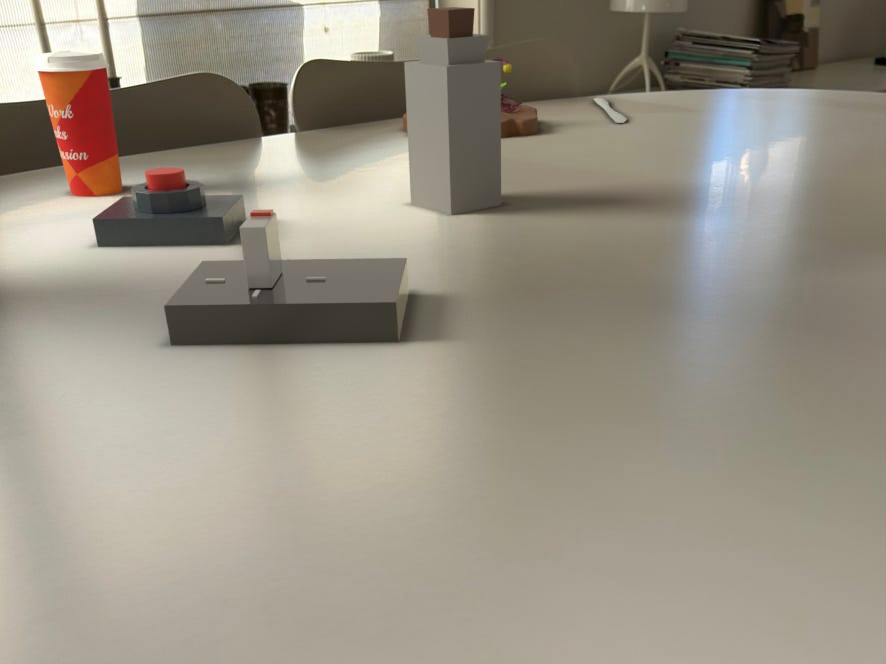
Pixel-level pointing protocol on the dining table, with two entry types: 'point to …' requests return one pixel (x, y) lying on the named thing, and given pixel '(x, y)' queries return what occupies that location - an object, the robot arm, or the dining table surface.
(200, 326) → the dark grey base block
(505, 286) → the dining table surface
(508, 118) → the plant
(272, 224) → the white block red tab
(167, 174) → the power button
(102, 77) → the paper cup
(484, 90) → the perfume bottle
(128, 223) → the switch block
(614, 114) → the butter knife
